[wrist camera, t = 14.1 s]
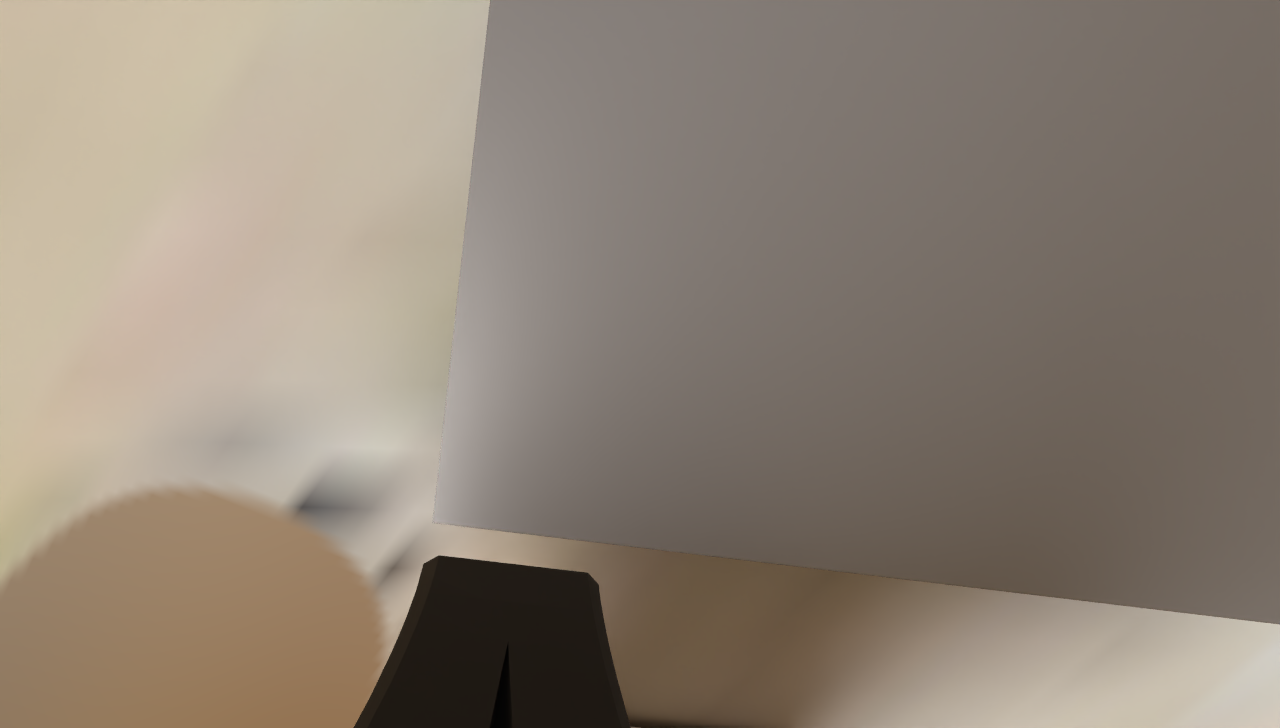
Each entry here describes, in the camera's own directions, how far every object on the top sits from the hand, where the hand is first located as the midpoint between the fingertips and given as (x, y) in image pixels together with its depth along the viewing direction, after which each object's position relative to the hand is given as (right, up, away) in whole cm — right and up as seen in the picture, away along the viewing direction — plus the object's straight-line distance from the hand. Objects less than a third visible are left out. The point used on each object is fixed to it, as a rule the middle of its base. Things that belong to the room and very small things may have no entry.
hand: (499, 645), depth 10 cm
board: (+7, +5, +8) cm, 12 cm away
